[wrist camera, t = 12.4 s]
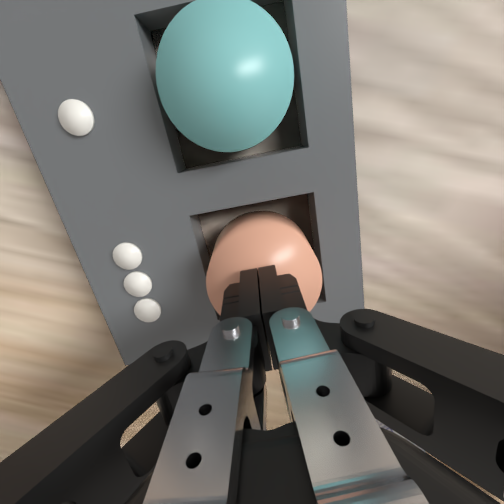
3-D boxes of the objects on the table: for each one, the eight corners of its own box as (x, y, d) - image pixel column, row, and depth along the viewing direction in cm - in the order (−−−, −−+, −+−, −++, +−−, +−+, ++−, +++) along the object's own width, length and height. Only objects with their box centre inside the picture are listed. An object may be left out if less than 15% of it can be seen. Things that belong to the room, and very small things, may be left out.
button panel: (300, -411, 9) (315, -566, 7) (353, 307, 19) (366, 328, 17) (-117, -284, 10) (-211, -391, 8) (136, 343, 19) (124, 367, 17)
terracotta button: (302, 202, 15) (315, 218, 12) (314, 290, 17) (327, 322, 14) (203, 220, 15) (192, 240, 12) (225, 306, 17) (220, 340, 14)
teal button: (275, 12, 13) (283, -22, 10) (291, 137, 14) (302, 138, 12) (160, 38, 13) (136, 12, 10) (190, 157, 15) (177, 163, 12)
